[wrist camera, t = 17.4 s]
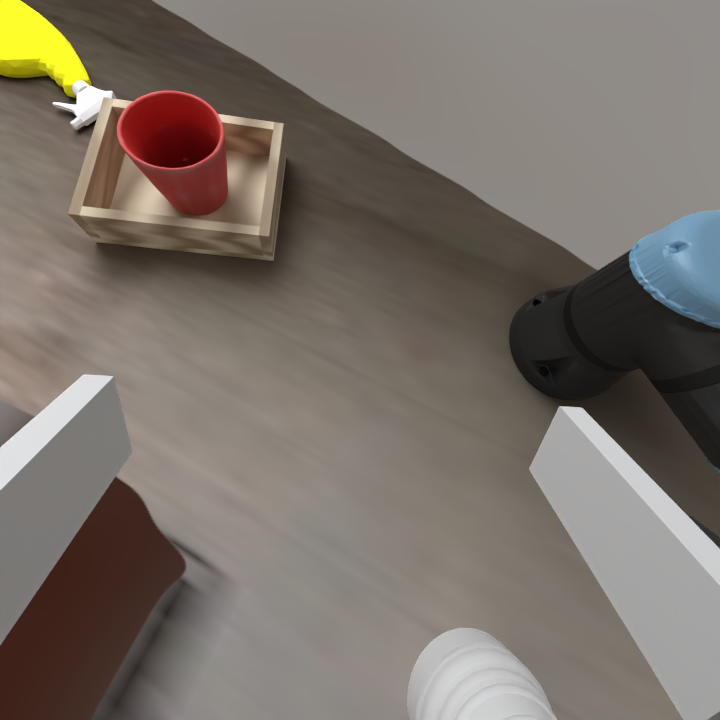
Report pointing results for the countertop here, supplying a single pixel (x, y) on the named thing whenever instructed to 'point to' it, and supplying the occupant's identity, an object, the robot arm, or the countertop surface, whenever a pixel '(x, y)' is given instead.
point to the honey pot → (473, 681)
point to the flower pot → (178, 148)
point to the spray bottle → (46, 59)
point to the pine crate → (159, 217)
